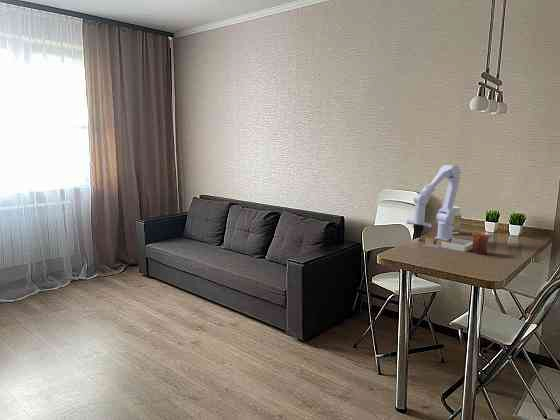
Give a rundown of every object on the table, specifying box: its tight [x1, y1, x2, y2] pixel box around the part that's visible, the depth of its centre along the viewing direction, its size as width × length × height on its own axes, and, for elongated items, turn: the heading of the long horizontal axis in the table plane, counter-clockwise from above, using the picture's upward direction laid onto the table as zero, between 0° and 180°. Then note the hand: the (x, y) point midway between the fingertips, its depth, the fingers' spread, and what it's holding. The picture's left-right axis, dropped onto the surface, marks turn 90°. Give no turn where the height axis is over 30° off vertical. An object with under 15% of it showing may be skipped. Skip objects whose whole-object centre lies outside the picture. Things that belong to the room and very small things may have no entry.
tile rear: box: [424, 237, 438, 244], centre depth 246 cm, size 5×5×2 cm
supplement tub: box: [446, 205, 462, 235], centre depth 275 cm, size 12×12×17 cm
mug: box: [471, 231, 491, 255], centre depth 223 cm, size 12×9×10 cm
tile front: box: [435, 239, 450, 245], centre depth 242 cm, size 5×5×2 cm
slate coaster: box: [422, 242, 441, 249], centre depth 238 cm, size 8×8×1 cm
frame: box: [440, 237, 473, 253], centre depth 236 cm, size 16×13×3 cm
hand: (417, 237), depth 251 cm, fingers closed
